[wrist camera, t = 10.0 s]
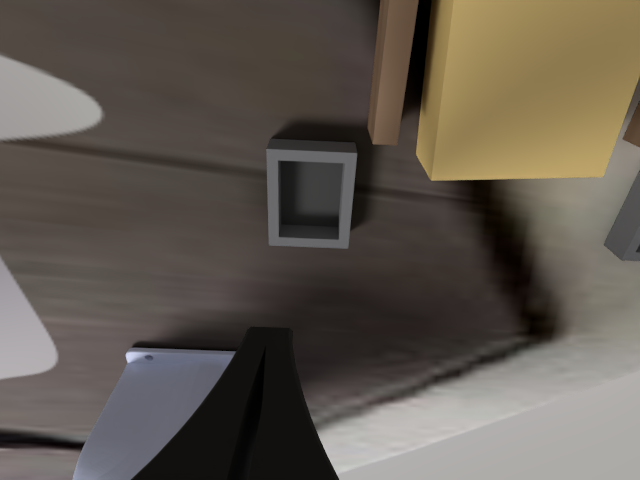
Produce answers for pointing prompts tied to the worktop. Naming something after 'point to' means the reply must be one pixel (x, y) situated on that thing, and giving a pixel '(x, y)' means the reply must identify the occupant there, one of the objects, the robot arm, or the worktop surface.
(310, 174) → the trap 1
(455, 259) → the worktop surface
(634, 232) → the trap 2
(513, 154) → the block
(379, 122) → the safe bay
